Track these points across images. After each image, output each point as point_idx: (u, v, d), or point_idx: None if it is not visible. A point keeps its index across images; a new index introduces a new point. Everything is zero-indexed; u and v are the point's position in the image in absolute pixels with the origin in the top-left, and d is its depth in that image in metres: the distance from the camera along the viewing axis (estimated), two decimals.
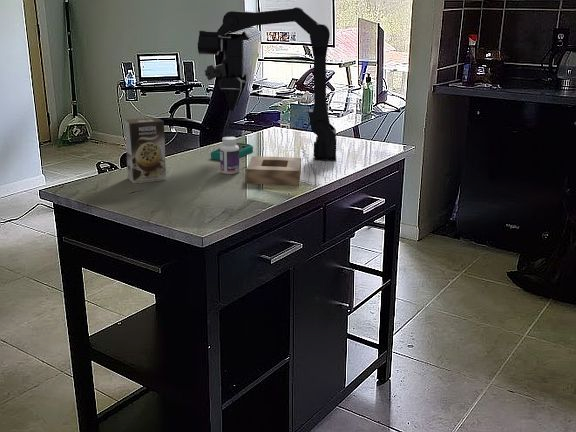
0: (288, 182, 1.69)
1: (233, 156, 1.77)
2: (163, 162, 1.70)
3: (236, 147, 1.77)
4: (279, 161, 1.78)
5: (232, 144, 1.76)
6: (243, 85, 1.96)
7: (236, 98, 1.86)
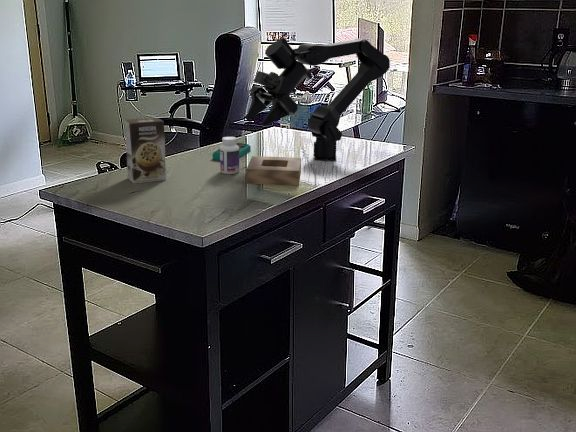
0: (288, 182, 1.69)
1: (233, 156, 1.77)
2: (163, 162, 1.70)
3: (236, 147, 1.77)
4: (279, 161, 1.78)
5: (232, 144, 1.76)
6: (264, 107, 1.86)
7: (277, 118, 1.77)
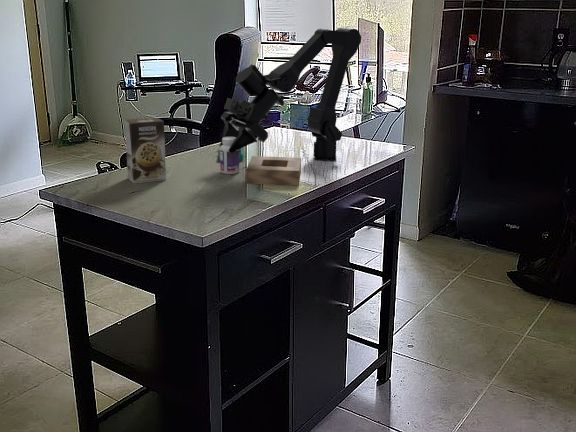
0: (288, 182, 1.69)
1: (233, 156, 1.77)
2: (163, 162, 1.70)
3: None
4: (279, 161, 1.78)
5: None
6: (238, 135, 1.82)
7: (244, 145, 1.76)
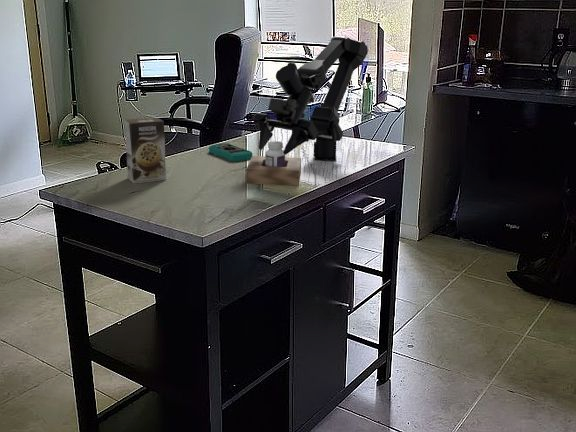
0: (288, 182, 1.69)
1: (282, 160, 1.73)
2: (163, 162, 1.70)
3: (283, 151, 1.74)
4: None
5: (280, 149, 1.73)
6: (271, 135, 1.79)
7: (296, 145, 1.72)
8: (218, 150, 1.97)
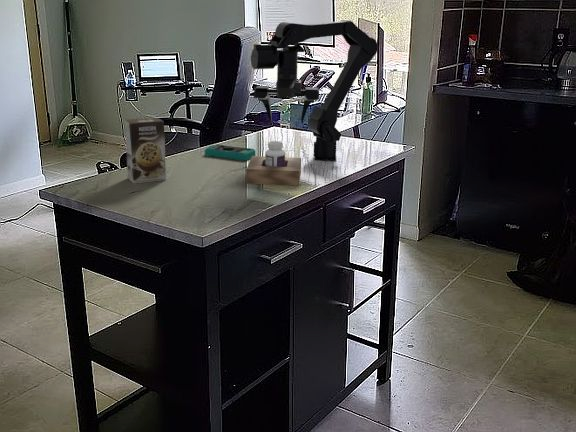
0: (288, 182, 1.69)
1: (282, 160, 1.73)
2: (163, 162, 1.70)
3: (283, 151, 1.74)
4: None
5: (280, 149, 1.73)
6: None
7: None
8: (220, 152, 1.95)
